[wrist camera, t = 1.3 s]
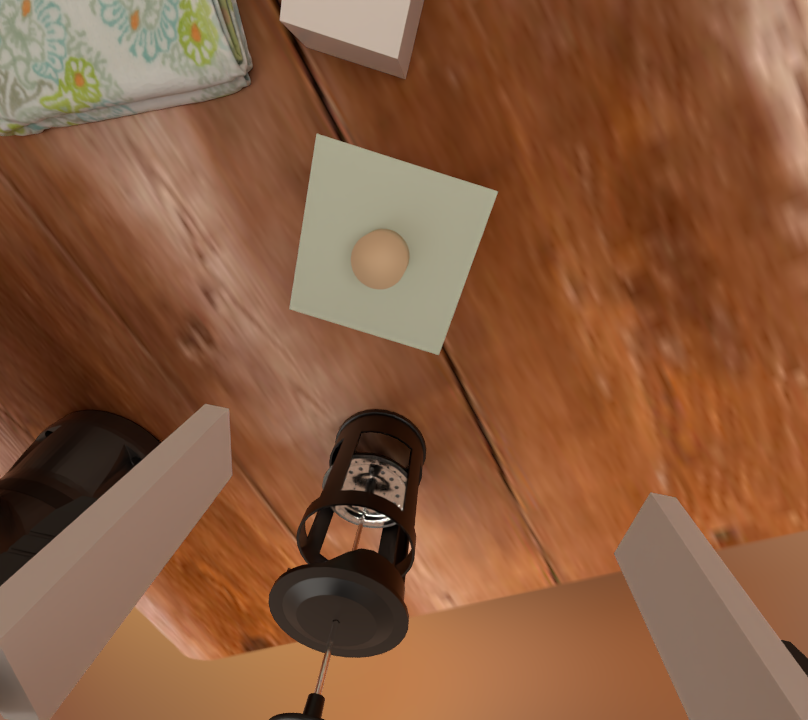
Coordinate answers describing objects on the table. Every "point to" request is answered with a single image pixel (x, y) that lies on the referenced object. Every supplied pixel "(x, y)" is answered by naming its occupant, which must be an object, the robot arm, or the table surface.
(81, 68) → the towel
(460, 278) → the lid
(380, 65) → the block
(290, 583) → the french press
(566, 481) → the table surface
